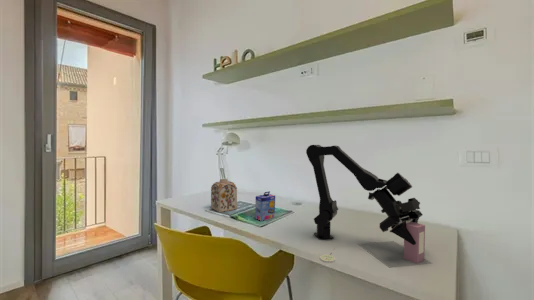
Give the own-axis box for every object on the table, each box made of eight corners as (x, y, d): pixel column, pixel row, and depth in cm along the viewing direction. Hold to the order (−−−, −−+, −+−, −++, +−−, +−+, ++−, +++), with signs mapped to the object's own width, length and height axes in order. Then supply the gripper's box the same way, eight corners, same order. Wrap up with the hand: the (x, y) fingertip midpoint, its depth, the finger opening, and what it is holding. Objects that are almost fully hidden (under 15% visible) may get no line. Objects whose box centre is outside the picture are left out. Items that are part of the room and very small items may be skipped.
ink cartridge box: (261, 221, 126) (261, 193, 126) (254, 219, 131) (254, 191, 130) (275, 218, 133) (275, 190, 133) (268, 215, 137) (268, 189, 137)
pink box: (403, 258, 86) (404, 223, 86) (410, 255, 89) (411, 221, 88) (417, 263, 82) (418, 227, 82) (424, 260, 85) (425, 225, 84)
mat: (357, 244, 98) (357, 243, 98) (393, 241, 101) (393, 240, 101) (389, 268, 80) (389, 267, 80) (432, 264, 83) (432, 263, 83)
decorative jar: (210, 208, 152) (210, 178, 151) (227, 205, 159) (227, 177, 158) (219, 212, 142) (219, 181, 142) (237, 209, 149) (237, 179, 149)
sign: (343, 246, 96) (333, 262, 83) (342, 249, 96) (333, 265, 83) (329, 244, 98) (317, 258, 85) (329, 246, 98) (317, 261, 85)
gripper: (388, 193, 83) (423, 237, 74) (417, 188, 93) (451, 225, 84) (367, 211, 90) (396, 253, 81) (396, 204, 100) (425, 241, 91)
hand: (418, 242), depth 84 cm, fingers closed on pink box, 4 cm apart
